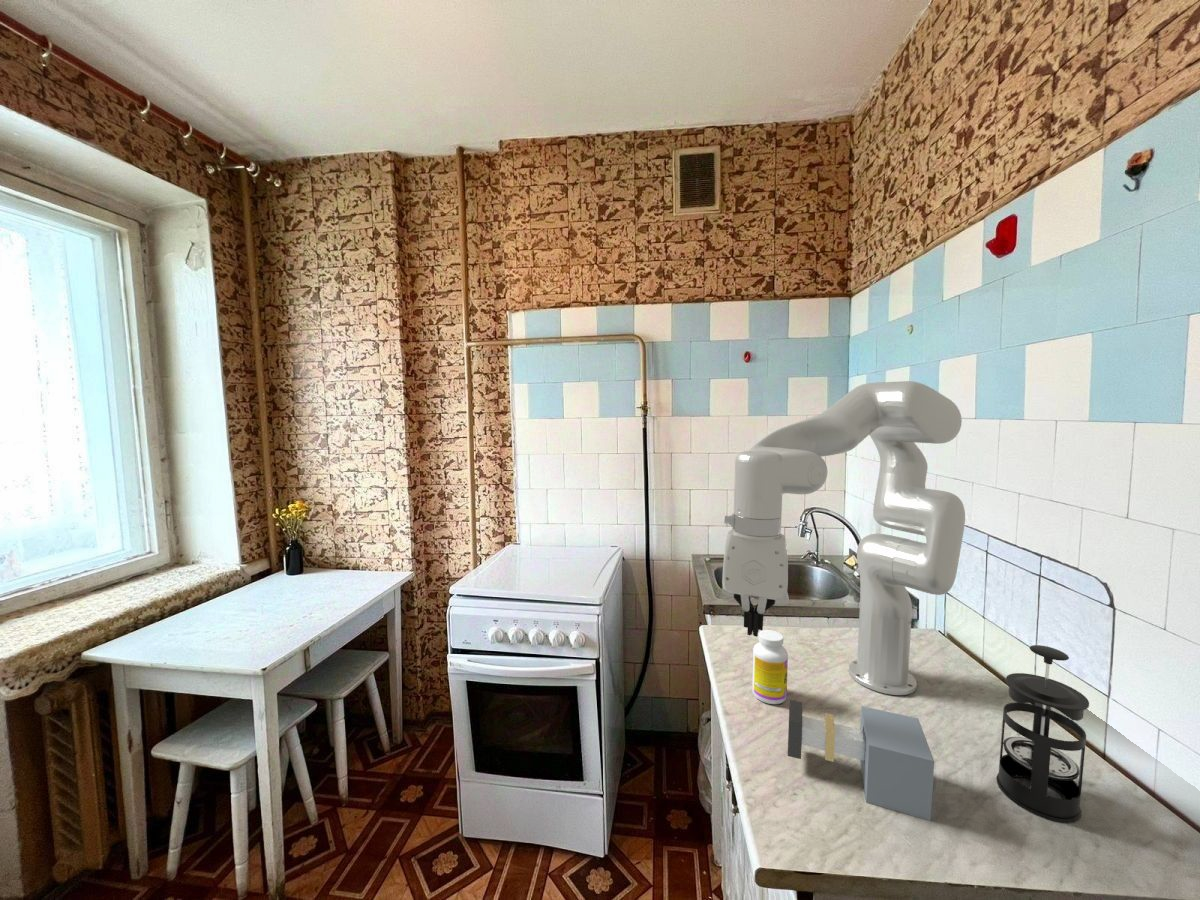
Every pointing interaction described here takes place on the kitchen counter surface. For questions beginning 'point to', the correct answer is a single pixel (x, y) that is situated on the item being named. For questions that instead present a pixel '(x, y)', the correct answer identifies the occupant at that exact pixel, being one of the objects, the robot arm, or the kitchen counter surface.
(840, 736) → the shaft
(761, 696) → the supplement bottle
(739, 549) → the robot arm
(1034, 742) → the french press
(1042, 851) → the kitchen counter surface
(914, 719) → the housing
